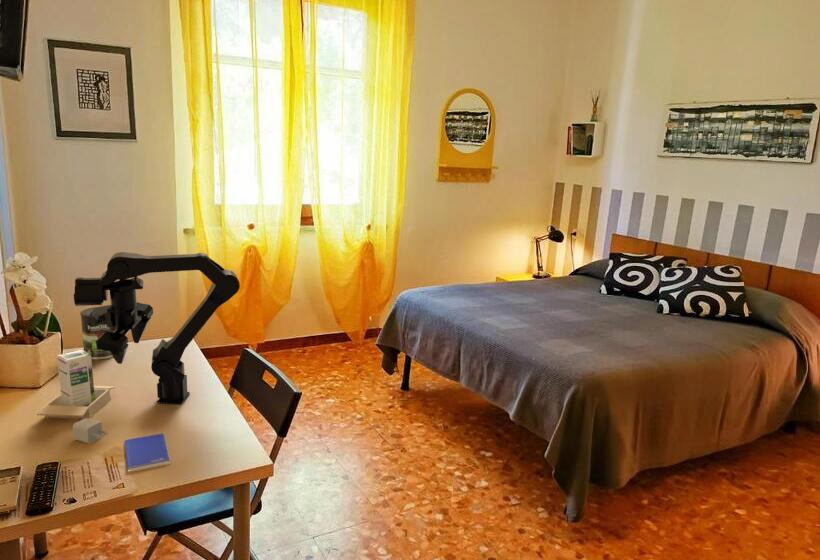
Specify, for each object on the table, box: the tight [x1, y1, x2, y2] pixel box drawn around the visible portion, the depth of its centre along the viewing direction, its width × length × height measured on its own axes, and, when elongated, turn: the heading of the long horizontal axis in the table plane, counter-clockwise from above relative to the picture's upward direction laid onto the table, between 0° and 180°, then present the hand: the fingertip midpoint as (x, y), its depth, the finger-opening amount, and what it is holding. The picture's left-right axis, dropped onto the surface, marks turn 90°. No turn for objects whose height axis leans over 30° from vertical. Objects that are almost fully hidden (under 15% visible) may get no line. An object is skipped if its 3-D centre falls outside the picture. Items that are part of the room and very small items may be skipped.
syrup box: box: [56, 349, 95, 406], centre depth 141 cm, size 6×6×14 cm
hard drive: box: [124, 433, 171, 472], centre depth 124 cm, size 2×8×12 cm
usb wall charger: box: [72, 418, 109, 445], centre depth 128 cm, size 4×7×4 cm, turn 71°
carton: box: [36, 385, 116, 420], centre depth 142 cm, size 11×16×3 cm, turn 2°
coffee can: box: [80, 306, 117, 360], centre depth 176 cm, size 10×10×14 cm
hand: (128, 352), depth 148 cm, fingers open, 9 cm apart
